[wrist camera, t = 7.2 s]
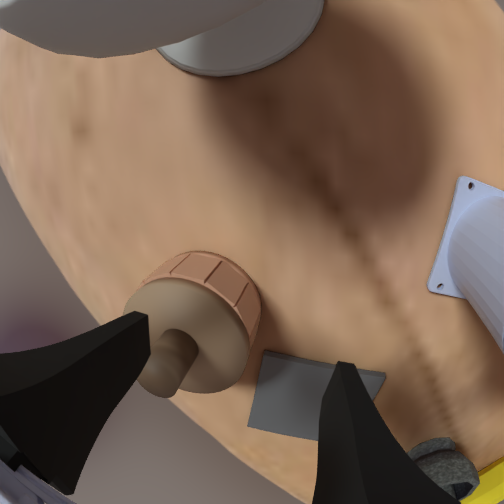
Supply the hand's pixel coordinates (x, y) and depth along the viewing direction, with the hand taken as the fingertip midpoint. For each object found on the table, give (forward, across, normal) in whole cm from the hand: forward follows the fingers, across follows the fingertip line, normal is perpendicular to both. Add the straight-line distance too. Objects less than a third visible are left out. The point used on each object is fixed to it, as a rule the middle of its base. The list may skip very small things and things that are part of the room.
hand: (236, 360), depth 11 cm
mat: (+10, -6, +13) cm, 17 cm away
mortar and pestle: (+10, -22, +20) cm, 32 cm away
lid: (+6, +4, +5) cm, 9 cm away
